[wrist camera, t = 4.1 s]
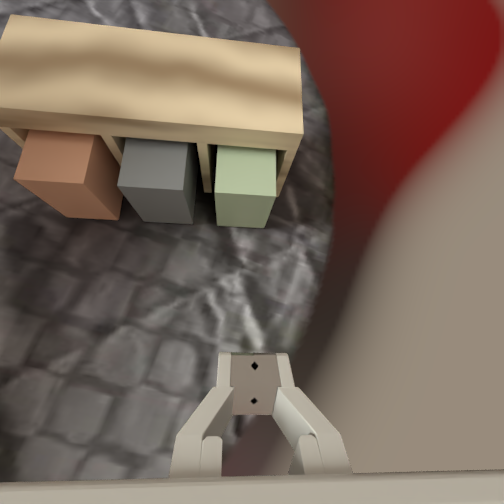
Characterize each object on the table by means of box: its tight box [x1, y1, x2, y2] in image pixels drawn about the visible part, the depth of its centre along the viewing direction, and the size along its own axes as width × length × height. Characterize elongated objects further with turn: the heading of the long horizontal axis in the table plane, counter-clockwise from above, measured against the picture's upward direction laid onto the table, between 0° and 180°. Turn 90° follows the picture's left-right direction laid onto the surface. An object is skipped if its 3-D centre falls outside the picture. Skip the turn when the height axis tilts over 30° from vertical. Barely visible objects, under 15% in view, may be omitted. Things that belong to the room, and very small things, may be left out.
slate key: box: [117, 137, 198, 224], centre depth 25 cm, size 7×5×7 cm
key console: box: [0, 15, 303, 197], centre depth 25 cm, size 9×23×10 cm, turn 89°
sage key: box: [215, 145, 276, 228], centre depth 26 cm, size 7×5×7 cm
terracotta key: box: [14, 129, 123, 220], centre depth 24 cm, size 7×5×7 cm
